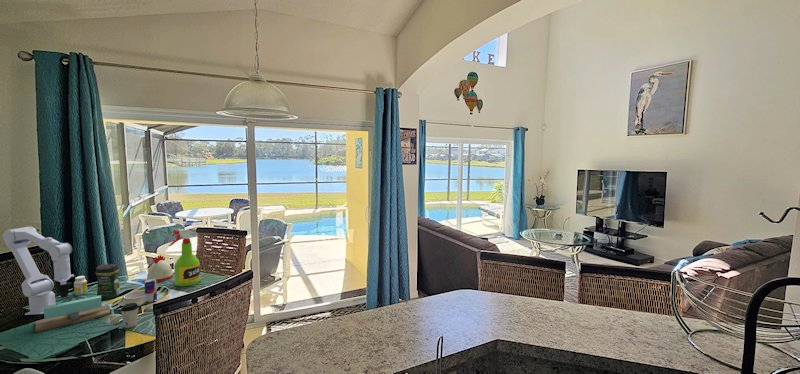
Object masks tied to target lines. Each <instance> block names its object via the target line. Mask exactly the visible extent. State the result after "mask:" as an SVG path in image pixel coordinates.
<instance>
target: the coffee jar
mask: <svg viewBox="0 0 800 374" xmlns="http://www.w3.org/2000/svg"><path fill="white" fill-rule="evenodd" d="M119 271H120V269H119V265H118V264H116V263H114V264H113V263H112V264H111V263H110V264H109V263H108V264H99V265H97V267H96V268H95V275H96V278H97V289H96V292H97V293H96V296H100V295H101V300H102V299H113V298H115V297H118V296H119V295H121V289H120V282H119Z"/></svg>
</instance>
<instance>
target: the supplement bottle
mask: <svg viewBox="0 0 800 374" xmlns="http://www.w3.org/2000/svg"><path fill="white" fill-rule="evenodd" d="M74 280H75V281H74V282H73V291H74V292H73V293H74V295H76V296H79V295H84V294H86V293H88V280H87V279H86V276H85V275H78V276H77V277H76V276H75V278H74Z"/></svg>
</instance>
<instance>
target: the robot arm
mask: <svg viewBox="0 0 800 374" xmlns="http://www.w3.org/2000/svg"><path fill="white" fill-rule="evenodd" d="M2 240H3V241H4V243H5V245H6V247H7V248H8V249H10V251H11V252H12V254H13V256H14V259H15V260H16V262H17V264H18V267H19V268H20V269H21V272H22V274H23V276H24V278H25V279H24V280H23V282H22V283H21V285H20V286H21V289H22V290H21V291H22V294H23V295H24V297H27V298H28V304H29V311H28V312H26V313H24V316H30V315H31V316H32V315H44V307H45V306H50V305H55V304H57V302H56V293H54V292H53V289H54V287H55V288H56V289H57V291H58V292H59V296H60V298H61V299H63V298H66V297H69V296H68V295H69V291H70V286H71V285H72V282H71V281H70V280H71V278H74V277H75V274H72V272H71V261H70V254H72V252H73V247H72V245H71V244H70V243H69V242H60V241H58V240H56V239H54V238H53V237H45V236H43V234H39V232H37V229H36V228H35V227H33V226H31V225H28V226H25V227H18V228H12V229H6V230H5V231H4V232H3V234H2ZM31 242H33V243H36V244H38V247H39V248H40V249H43V251H46V252H48V254H49V255H50V257H51V261H52V262H53V263H52V264H53V273H54V274H53V275H54V277H53V279H54V281H55V283H56V284H55V283H54V281H53V280H52V279H51V278H50V277H49V275H47V274H42V273H41V272H40V270H39V268H38V266H37V264H36V263H35V260H34V258H33V257H32V255H31V252H30V251H29V249H28V245H30V244H31Z"/></svg>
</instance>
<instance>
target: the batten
mask: <svg viewBox="0 0 800 374" xmlns="http://www.w3.org/2000/svg"><path fill="white" fill-rule="evenodd" d="M102 306H103V305H102V299H101V295H100V296H97V295H95V296H90V297H86V298H80V299H75V300H71V301H66V302H60V303H56V304H55V305H50V306H45V307H44V314H43V315H44V319H49V318H54V317H58V316H63V315H67V314H72V313H76V312H81V311H86V310H90V309H95V308H99V307H102Z"/></svg>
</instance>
